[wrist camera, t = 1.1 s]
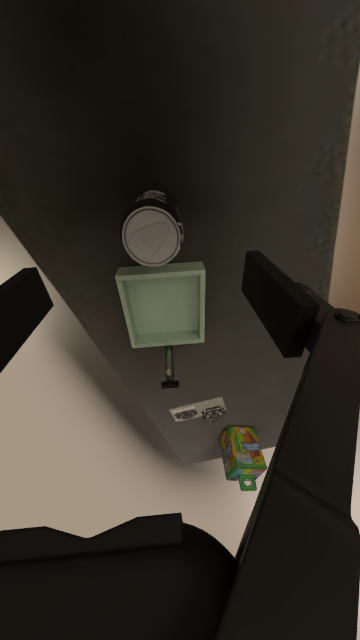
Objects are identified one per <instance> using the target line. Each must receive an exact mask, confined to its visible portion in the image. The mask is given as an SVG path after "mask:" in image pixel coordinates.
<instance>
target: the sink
mask: <svg viewBox="0 0 360 640" xmlns="http://www.w3.org/2000/svg"><path fill="white" fill-rule="evenodd" d="M205 274H206V270H205V267H204V265H203V262H202V261H198V262H185V263H171V264H164V265H161V266H157V267H149V266H145V265H144V266H130V267H119V268H118V271H117V273H116V275H115V279H116V283H117V287H118V291H119V295H120V299H121V303H122V307H123V312H124V316H125V320H126V324H127V328H128V332H129V336H130V340H131V344H132V348H142V347H155V346H167V345H179V344H192V343H204V330H205Z"/></svg>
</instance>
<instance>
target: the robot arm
mask: <svg viewBox="0 0 360 640" xmlns="http://www.w3.org/2000/svg"><path fill="white" fill-rule="evenodd" d="M242 292H243V294H244V295H245V297H246V298H247V300H248V301H249V303H250V305H251V306H252V308H253V309H254V311H255V312H256V314H257V316H258V317H259V319H260V320H261V322H262V323H263V325H264V327H265V328H266V330H267V331H268V333H269V334H270V336H271V338H272V339H273V341H274V342H275V344H276V346H277V347H278V349H279V350H280V352H281V353H282V355H283V357H284V358H292V357H301V356H302V353H303V350H304V348H305V347H306V348H307V350H308V351H309V352H310V354H309V357H308V359H307V362H306V364H305V367H304V369H303V373H302V376H301V379H300V382H299V384H298V387H297V390H296V393H295V395H294V398H293V401H292V404H291V406H290V409H289V412H288V415H287V417H286V420H285V423H284V426H283V428H282V431H281V434H280V437H279V439H278V442H277V445H276V448H275V451H274V453H273V456H272V459H271V462H270V464H269V467H268V470H267V473H266V476H265V478H264V481H263V484H262V487H261V489H260V492H259V495H258V497H257V500H256V503H255V506H254V509H253V511H252V513H251V516H250V519H249V521H248V524H247V526H246V529H245V532H244V535H243V537H242V540H241V543H240V545H239V548H238V551H237V554H236V556H235V558H234V557H233V555H232V554H231V553H230V552H229V551H228V550H227V549H226V548H225V547H224V546H223V545H222V544H221V543H220V542H219V541H218V540H217V539H215V538H214V537H213V536H211V535H210V534H208V533H207V532H205V531H204V530H202V529H199V528H197V527H195V526H193V525H189V524H186V523H183V521H182V515H181V513H173V514H162V515H153V516H143V517H136V518H134V519H132V520H130V521H127V522H125V523H123V524H120V525H118V526H116V527H114V528H112V529H109V530H107V531H105V532H103V533H100V534H98V535H96V536H93V537H91V538H83V537H80V536H76V535H73V534H70V533H66V532H63V531H59V530H56V529H52V528H49V527H46V526H43V527H33V528H24V529H13V530H3V531H0V640H356V637H357V636H356V635H357V618H358V601H359V582H360V534H359V530H358V527H357V526H356V525H355V523H354V522H353V520H352V518H351V496H352V486H353V474H354V464H355V453H356V442H357V441H356V440H357V431H358V420H359V409H360V408H359V407H360V314H358V313H356V312H354V311H351V310H347V309H341V308H336V309H335V308H333V307H332V306H331V305H330V304H329V303H327V302H326V301H325V300H324V299H323V298H321V297H319V295H318V294H317V293H314V291H313V290H312V289H310V288H309V287H308V286H306V285H304V284H301V283H299V282H296V283H295V282H294V281H292V280H291V279H290V278H289V277H288V276H287V275H286V274H284V273H283V272H282V271H281V270H280V269H279V268H278V267H277V266H275V265H274V264H273V263H272V262H271V261H270V260H269V259H267V258H266V257H265V256H264V255H263V254H262V253H261V252H259V251H246V258H245V266H244V274H243V282H242ZM52 307H53V302H52V300H51V298H50V296H49V294H48V292H47V289H46V287H45V285H44V283H43V281H42V279H41V277H40V275H39V272H38V270H37V268H36V267H33V268H24V269H22V270H21V271H19V272H18V273H17V274H15V275H14V276H12V277H11V278H10V279H8V280H7V281H6V282H4V283H3V284H1V285H0V373H1V372H2V370H3V369H4V368H5V367H6V365H7V364H8V363H9V361H10V360H11V359H12V357H13V356H14V355H15V354H16V353H17V351H18V350H19V348H20V347H21V346H22V345H23V343H24V342H25V341H26V340H27V339H28V337H29V336H30V335H31V334H32V332H33V331H34V330H35V328H36V327H37V326H38V325H39V323H40V322H41V321H42V320H43V318H44V317H45V316H46V315H47V313H48V312H49V311H50V309H51V308H52Z"/></svg>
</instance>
